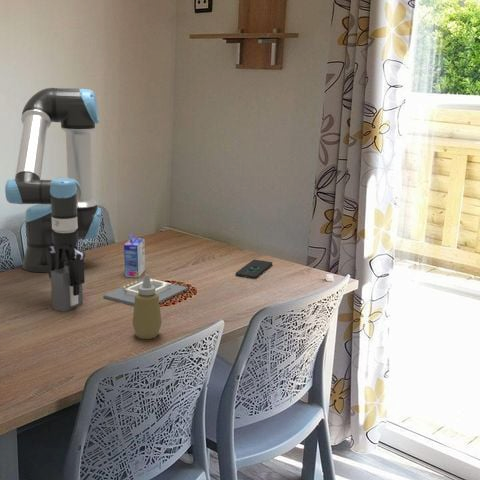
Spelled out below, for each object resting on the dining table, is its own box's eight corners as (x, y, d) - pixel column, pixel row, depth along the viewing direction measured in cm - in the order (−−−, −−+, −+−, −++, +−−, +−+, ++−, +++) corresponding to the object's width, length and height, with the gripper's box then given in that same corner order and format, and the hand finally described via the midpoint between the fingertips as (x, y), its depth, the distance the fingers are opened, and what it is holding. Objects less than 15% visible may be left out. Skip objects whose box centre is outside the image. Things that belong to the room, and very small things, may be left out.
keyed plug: (52, 308, 196) (50, 271, 193) (73, 299, 204) (72, 264, 201) (64, 311, 194) (62, 274, 191) (85, 303, 202) (84, 266, 199)
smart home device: (234, 272, 234) (253, 258, 252) (234, 277, 234) (253, 263, 252) (255, 276, 231) (273, 261, 249) (255, 280, 231) (273, 266, 249)
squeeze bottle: (133, 329, 183) (133, 270, 178) (162, 329, 184) (162, 270, 179) (131, 341, 175) (130, 279, 170) (161, 341, 176) (161, 279, 171)
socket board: (103, 297, 207) (103, 290, 206) (145, 280, 226) (145, 273, 225) (148, 309, 198) (148, 302, 198) (187, 290, 217) (188, 283, 216)
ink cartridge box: (131, 269, 238) (130, 231, 234) (145, 269, 237) (145, 232, 233) (123, 277, 228) (123, 238, 224) (138, 278, 228) (138, 239, 224)
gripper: (33, 228, 193) (37, 300, 199) (78, 237, 185) (80, 312, 191) (52, 223, 200) (55, 293, 206) (96, 232, 191) (97, 305, 197)
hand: (67, 302), depth 198 cm, fingers closed on keyed plug, 5 cm apart
